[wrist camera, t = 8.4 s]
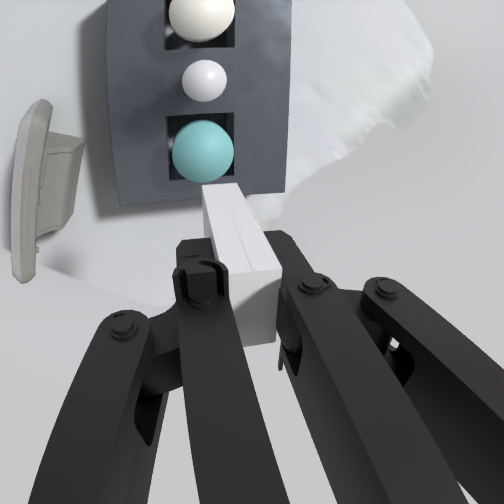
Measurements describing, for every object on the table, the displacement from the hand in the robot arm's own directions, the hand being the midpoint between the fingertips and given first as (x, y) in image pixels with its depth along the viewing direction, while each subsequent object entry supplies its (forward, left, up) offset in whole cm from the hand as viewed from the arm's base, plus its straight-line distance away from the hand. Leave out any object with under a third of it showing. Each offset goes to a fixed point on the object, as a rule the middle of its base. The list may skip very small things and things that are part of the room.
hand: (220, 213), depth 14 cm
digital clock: (-17, -2, -21) cm, 27 cm away
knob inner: (0, +12, -20) cm, 23 cm away
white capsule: (0, +6, -15) cm, 16 cm away
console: (0, +6, -20) cm, 21 cm away
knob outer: (0, 0, -20) cm, 20 cm away
